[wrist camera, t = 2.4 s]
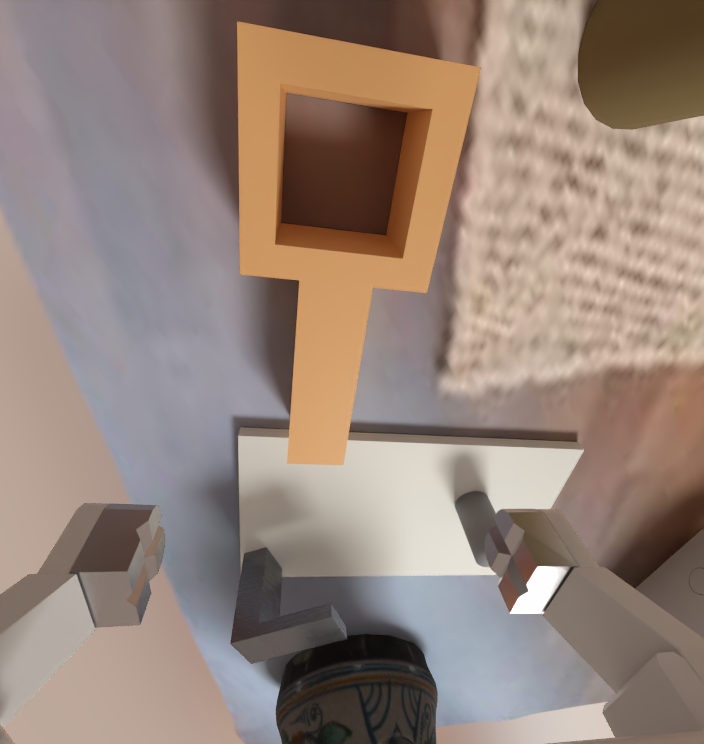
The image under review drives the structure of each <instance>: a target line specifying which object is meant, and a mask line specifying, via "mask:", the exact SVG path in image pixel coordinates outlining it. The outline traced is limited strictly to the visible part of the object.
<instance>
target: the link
mask: <svg viewBox="0 0 704 744" xmlns="http://www.w3.org/2000/svg"><path fill="white" fill-rule="evenodd" d="M237 54H238V138H239V223H240V275H250V276H260V277H270V278H280V279H290V280H299V292H298V307H297V322H296V337H295V352H294V366H293V381H292V396H291V411H290V427H289V442H288V458H287V464H315V465H344V459H345V453H346V447H347V441H348V435H349V429H350V423H351V417H352V411H353V405H354V399H355V393H356V387H357V381H358V375H359V369H360V363H361V357H362V351H363V345H364V339H365V333H366V327H367V321H368V315H369V309H370V303H371V297H372V291H373V288H382V289H392V290H402V291H412V292H422V293H427V290H428V286H429V282H430V277H431V273H432V269H433V265H434V261H435V257H436V253H437V248H438V244H439V240H440V236H441V232H442V228H443V223H444V219H445V215H446V211H447V207H448V203H449V199H450V194H451V190H452V186H453V182H454V178H455V174H456V169H457V165H458V161H459V157H460V153H461V149H462V144H463V140H464V136H465V132H466V128H467V124H468V120H469V115H470V111H471V107H472V103H473V99H474V95H475V90H476V86H477V82H478V78H479V74H480V70H481V68H480V67H475V66H470V65H464V64H459V63H454V62H449V61H443V60H438V59H433V58H428V57H422V56H417V55H412V54H407V53H401V52H396V51H391V50H386V49H380V48H375V47H370V46H364V45H359V44H354V43H349V42H343V41H338V40H333V39H328V38H322V37H317V36H312V35H307V34H301V33H296V32H291V31H286V30H280V29H275V28H270V27H265V26H259V25H254V24H249V23H244V22H238V21H237ZM286 93H292V94H298V95H304V96H310V97H316V98H322V99H328V100H334V101H340V102H346V103H352V104H358V105H364V106H370V107H376V108H382V109H388V110H394V111H400V112H406V113H407V118H406V124H405V129H404V135H403V141H402V147H401V153H400V158H399V164H398V170H397V176H396V182H395V187H394V193H393V199H392V205H391V211H390V216H389V222H388V228H387V234H386V235H379V234H370V233H362V232H354V231H345V230H337V229H328V228H320V227H312V226H303V225H295V224H287V223H281V217H282V192H283V167H284V141H285V116H286Z"/></svg>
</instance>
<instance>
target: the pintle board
mask: <svg viewBox="0 0 704 744" xmlns="http://www.w3.org/2000/svg"><path fill="white" fill-rule="evenodd" d="M288 442H289V429H268V428H245V427H240V430H239V434H238V460H239V514H240V568H241V570H242V564H243V557H244V553H247V552H251V551H254V550H258V549H261V548H265V547H267V548H268V550H269V551H270V552H271V554H272V555H273V557H274V558H275V559H276V561H277V562H278V563H279V565H280V566H281V568H282V577H341V576H431V575H497V574H496V573H495V572H494V571H492V570H491V568H490V566H489V564H488V561H487V558H486V554H485V538H486V535H487V533H488V530H490V529H491V528H493V527H494V526H495V525H497V524H496V522H495V520H494V517H495V515H496V513H497V512H498V511H499V510H501V509H551V507H552V505H553V503H554V502H555V500H556V498H557V496H558V495H559V493H560V491H561V489H562V488H563V486H564V484H565V483H566V481H567V479H568V477H569V476H570V474H571V472H572V470H573V469H574V467H575V465H576V463H577V462H578V460H579V458H580V456H581V455H582V453H583V451H584V449H583V448H582V446H581V445H580V444H579V443H578V442H568V441H545V440H522V439H499V438H476V437H453V436H430V435H407V434H384V433H360V432H349V435H348V441H347V447H346V453H345V459H344V465H315V464H287V458H288Z"/></svg>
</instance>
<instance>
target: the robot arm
mask: <svg viewBox="0 0 704 744" xmlns="http://www.w3.org/2000/svg"><path fill="white" fill-rule="evenodd" d="M161 517H162V514H161V509H160V506H157V505H134V504H100V503H99V504H97V503H84V504H83V505H82V506H81V507H79V508H78V509H77V510H76V512H75V514H74V515H73V517H72V519H71V520H70V522H69V523H68V525H67V526H66V528H65V530H64V531H63V533H62V535H61V536H60V538H59V540H58V541H57V543H56V544H55V546H54V547H53V549H52V551H51V553H50V554H49V556H48V558H47V559H46V561H45V562H44V564H43V565H42V567H41V568H40V570H39V572H38V573H37V574H29V575H27V576H26V577H24V578H23V579H21V580H20V581H19V582H17V583H16V584H14V585H13V586H12V587H10V588H9V589H7V590H6V591H5V592H3V593H2V594H0V744H15V743H14V742H13V741H12V739H11V738H10V737H9V735H8V734H7V733H6V731H5V730H4V729H3V728H4V727H5V726H6V725H7V724H8V723H9V721H11V719H12V718H13V717H14V716H15V715H16V714H17V713H18V712H19V711H20V710H21V709H22V708H23V707H24V706H25V705H26V704H27V703H28V701H29V700H30V699H31V698H32V697H33V696H34V695H35V694H36V693H37V692H38V691H39V690H40V689H41V688H42V687H43V686H44V685H45V683H46V682H47V681H48V680H49V679H50V678H51V677H52V676H53V675H54V674H55V673H56V672H57V671H58V670H59V669H60V668H61V666H62V665H63V664H64V663H65V662H66V661H67V660H68V659H69V658H70V657H71V656H72V655H73V654H74V653H75V652H76V651H77V649H78V648H79V647H80V646H81V645H82V644H83V643H84V642H85V641H86V640H87V639H88V638H89V637H90V636H91V635H92V634H93V632H95V628H96V627H113V626H129V625H130V626H131V625H140V624H141V621H142V618H143V615H144V612H145V610H146V607H147V604H148V601H149V598H150V595H151V589H150V584H149V581H150V580H151V579H152V578H153V577H154V576H155V575H156V574H158V571H159V568H160V565H161V562H162V558H163V553H164V547H165V534H164V529H163V528H162V527H160V526H159V522H160V520H161ZM494 520H495V522H496V524H497V525H495V526H494V527H493V528H491V529H490V530H488V533H487V535H486V538H485V554H486V558H487V561H488V564H489V566H490V568H491V570H492V571H494V572H495V573H496V574H497V575H498V576H499V577H500V580H499V585H498V587H499V589H500V592H501V594H502V596H503V599H504V601H505V603H506V606H507V608H508V610H509V612H510V613H543V617H544V618H545V619H546V620H547V621H548V622H549V623H550V624H551V625H552V626H553V627H554V628H555V629H556V630H557V631H558V632H559V633H560V634H561V635H562V637H563V638H564V639H565V640H566V641H567V642H568V643H569V644H570V645H571V646H572V647H573V648H574V649H575V650H576V651H577V652H578V653H579V654H580V655H581V657H582V658H583V659H584V660H585V661H586V662H587V663H588V664H589V665H590V666H591V667H592V668H593V669H594V670H595V671H596V672H597V673H598V674H599V676H600V677H601V678H602V679H603V680H604V681H605V682H606V683H607V684H608V685H609V686H610V687H611V688H612V689H613V690H614V691H615V692H616V694H615V695H614V696H613V697H612V698H611V699H610V700H609V701H608V702H607V703H606V704H605V705H604V709H603V714H604V716H605V718H606V720H607V722H608V724H609V726H610V728H611V730H612V732H613V734H614V736H615V738H607V739H595V740H583V741H572V742H560V743H549V744H704V639H703V638H702V637H701V636H699V635H698V634H697V633H695V632H694V631H692V630H691V629H690V628H688V627H687V626H686V625H684V624H683V623H681V622H680V621H679V620H677V619H676V618H674V617H673V616H672V615H670V614H669V613H668V612H666V611H665V610H663V609H662V608H661V607H659V606H658V605H657V604H655V603H654V602H652V601H651V600H650V599H648V598H647V597H646V596H644V595H643V594H641V593H640V592H639V591H637V590H636V589H634V588H633V587H632V586H630V585H629V584H628V583H626V582H625V581H623V580H622V579H621V578H619V577H618V576H617V575H615V574H614V573H612V572H611V571H610V570H608V569H607V568H606V567H599V566H598V564H597V563H596V561H595V560H594V558H593V557H592V556H591V554H590V553H589V551H588V550H587V548H586V547H585V545H584V544H583V542H582V541H581V540H580V538H579V537H578V535H577V534H576V532H575V531H574V529H573V528H572V526H571V525H570V524H569V522H568V521H567V519H566V518H565V516H564V515H563V514H562V513H561V512H560V511H559V510H557V509H501V510H499V511H498V512H497V513H496V515H495V517H494Z"/></svg>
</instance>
